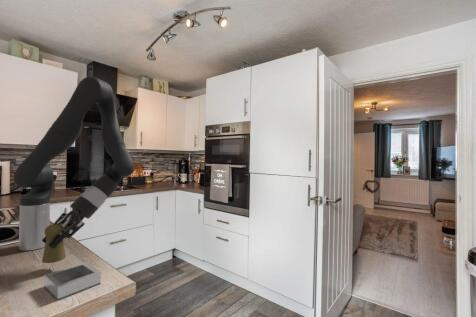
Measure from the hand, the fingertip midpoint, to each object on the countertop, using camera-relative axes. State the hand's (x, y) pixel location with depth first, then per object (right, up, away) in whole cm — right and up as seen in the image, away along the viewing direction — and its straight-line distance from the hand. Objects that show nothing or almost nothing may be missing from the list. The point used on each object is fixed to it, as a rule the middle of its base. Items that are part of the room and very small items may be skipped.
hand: (47, 244), depth 76 cm
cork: (+1, -5, +2) cm, 6 cm away
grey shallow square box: (+13, -9, -8) cm, 18 cm away
